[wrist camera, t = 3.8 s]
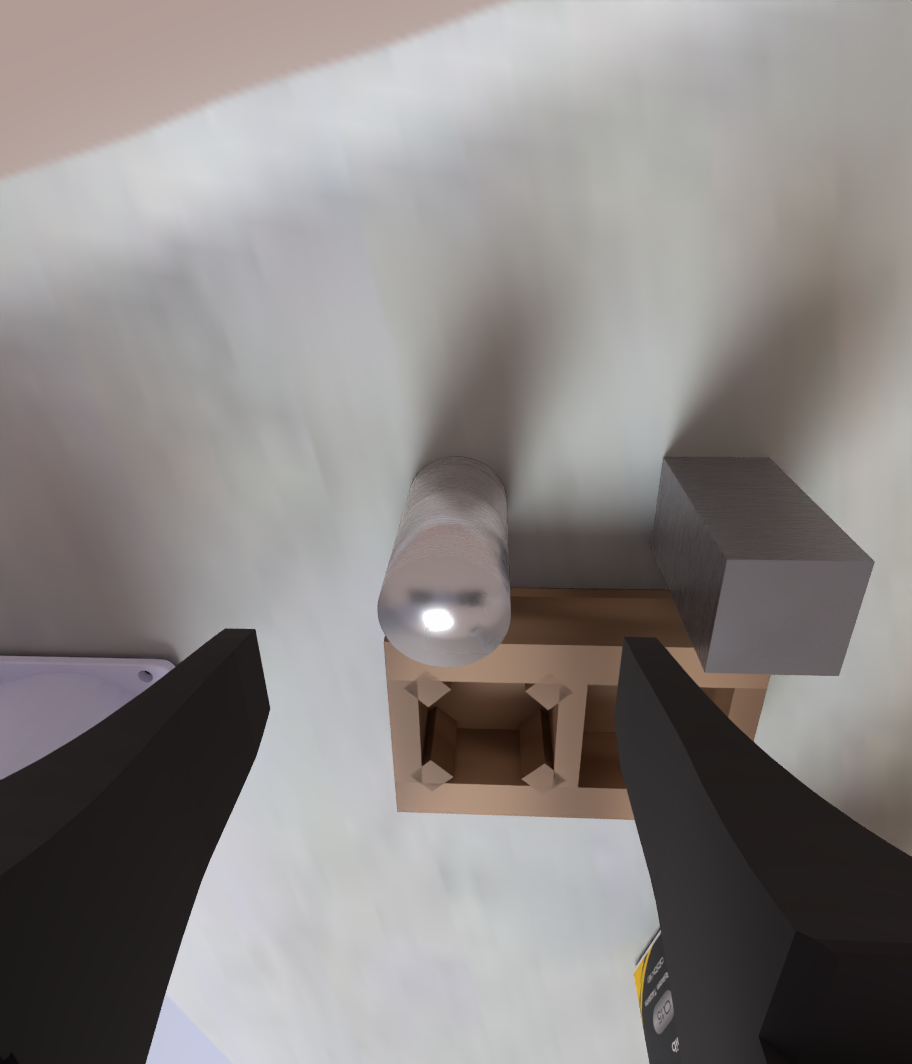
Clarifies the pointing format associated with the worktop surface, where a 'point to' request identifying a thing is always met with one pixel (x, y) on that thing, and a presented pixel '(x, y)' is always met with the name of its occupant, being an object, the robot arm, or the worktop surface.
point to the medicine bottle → (657, 1005)
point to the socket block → (540, 708)
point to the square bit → (756, 568)
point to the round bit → (449, 567)
